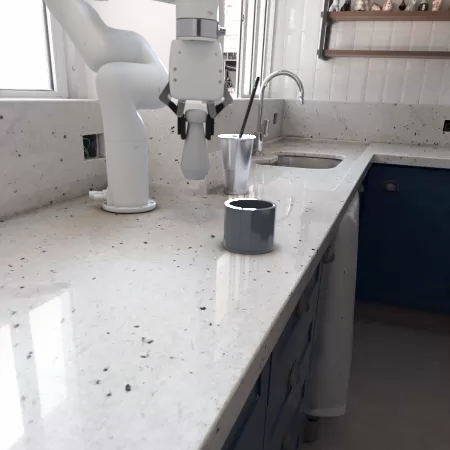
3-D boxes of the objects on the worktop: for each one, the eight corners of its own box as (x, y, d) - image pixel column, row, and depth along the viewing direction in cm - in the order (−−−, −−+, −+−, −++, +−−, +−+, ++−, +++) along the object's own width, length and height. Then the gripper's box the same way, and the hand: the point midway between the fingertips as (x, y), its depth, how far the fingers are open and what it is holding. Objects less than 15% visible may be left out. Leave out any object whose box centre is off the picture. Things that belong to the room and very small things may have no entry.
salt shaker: (187, 181, 94) (187, 110, 88) (176, 176, 98) (175, 108, 93) (214, 180, 96) (216, 110, 91) (202, 175, 101) (203, 108, 96)
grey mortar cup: (228, 255, 85) (230, 210, 82) (220, 240, 93) (221, 198, 90) (279, 253, 86) (282, 209, 83) (266, 239, 95) (268, 198, 91)
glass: (253, 197, 131) (259, 76, 119) (213, 195, 133) (215, 75, 121) (259, 190, 141) (265, 77, 129) (221, 188, 143) (224, 76, 131)
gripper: (238, 37, 92) (234, 138, 99) (148, 31, 89) (151, 136, 96) (246, 33, 85) (241, 142, 92) (150, 28, 82) (152, 140, 89)
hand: (195, 138), depth 94 cm, fingers closed on salt shaker, 4 cm apart
